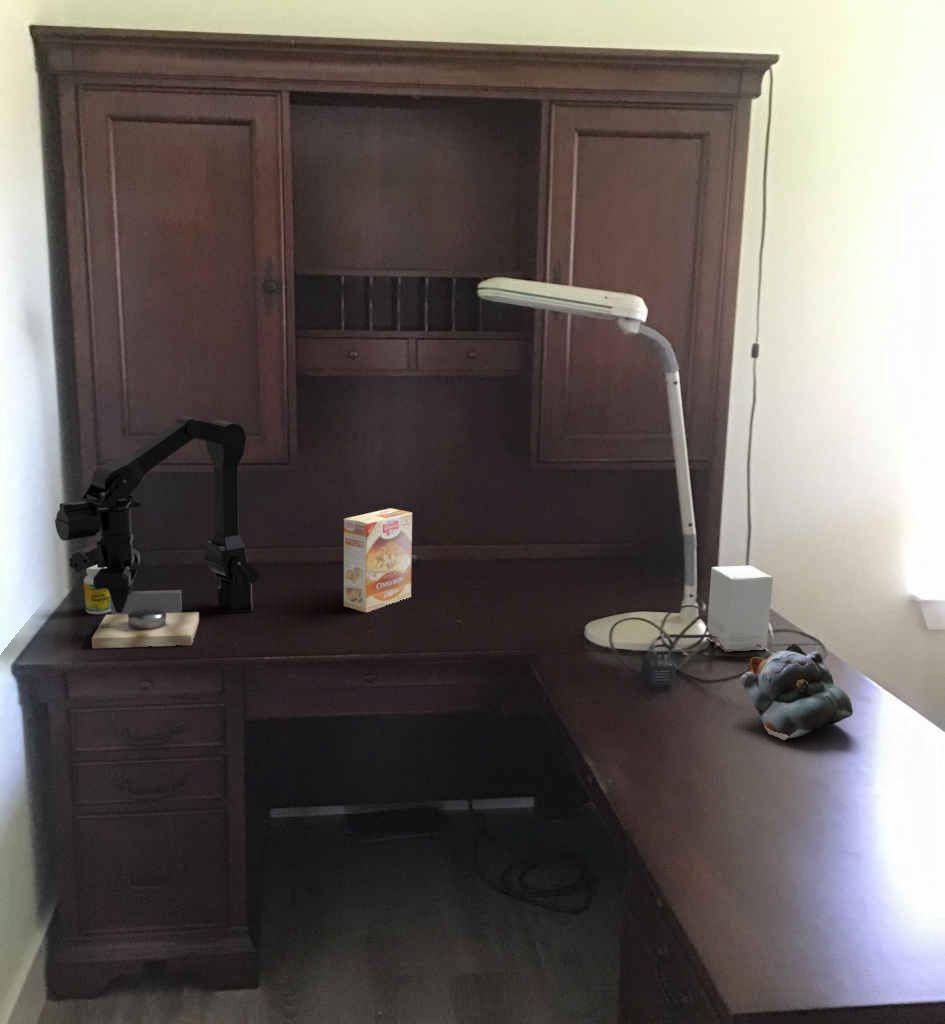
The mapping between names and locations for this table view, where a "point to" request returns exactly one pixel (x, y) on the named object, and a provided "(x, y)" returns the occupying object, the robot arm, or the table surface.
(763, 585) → the supplement box
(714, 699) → the table surface
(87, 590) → the supplement bottle
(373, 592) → the coffeecake box
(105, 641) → the base plate
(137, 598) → the silver dome with handle
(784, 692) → the lucky cat figurine
